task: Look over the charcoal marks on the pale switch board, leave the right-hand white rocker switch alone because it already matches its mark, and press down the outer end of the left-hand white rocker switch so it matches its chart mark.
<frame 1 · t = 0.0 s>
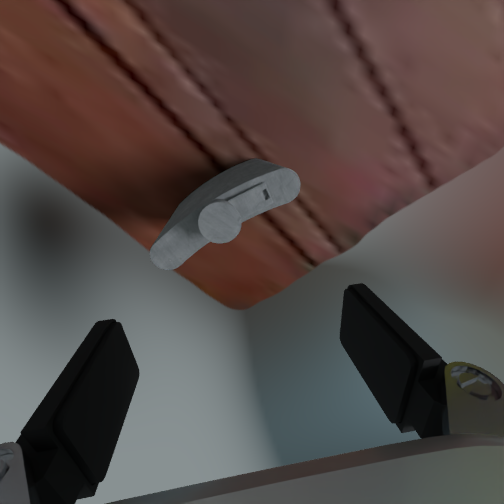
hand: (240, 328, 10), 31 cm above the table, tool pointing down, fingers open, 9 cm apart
hip flask: (219, 187, 38), on the table
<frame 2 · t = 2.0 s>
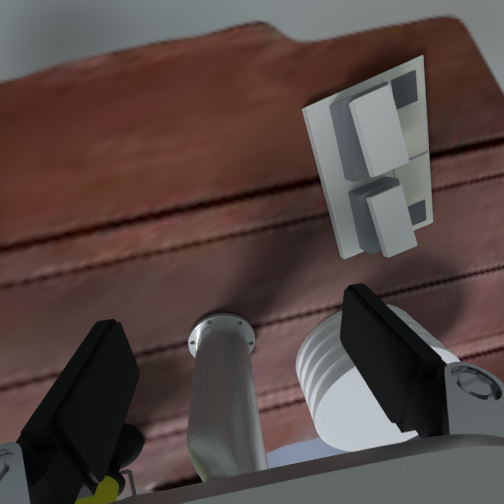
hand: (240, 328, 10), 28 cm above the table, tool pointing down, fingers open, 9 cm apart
plate stack: (356, 354, 53), on the table
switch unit: (371, 171, 37), on the table
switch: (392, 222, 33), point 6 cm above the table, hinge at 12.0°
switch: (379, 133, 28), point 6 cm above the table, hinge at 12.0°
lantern: (108, 441, 54), on the table
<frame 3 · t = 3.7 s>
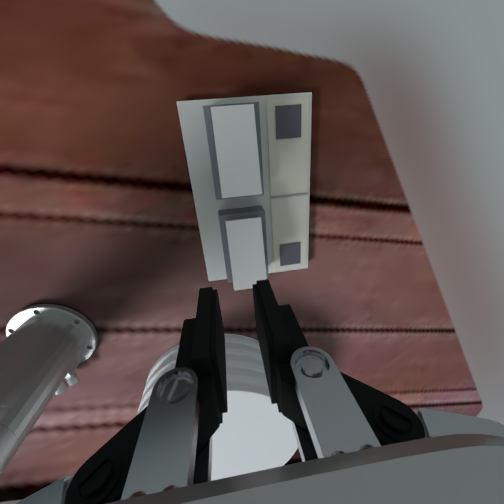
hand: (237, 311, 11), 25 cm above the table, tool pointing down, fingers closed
plate stack: (218, 384, 50), on the table
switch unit: (252, 196, 34), on the table
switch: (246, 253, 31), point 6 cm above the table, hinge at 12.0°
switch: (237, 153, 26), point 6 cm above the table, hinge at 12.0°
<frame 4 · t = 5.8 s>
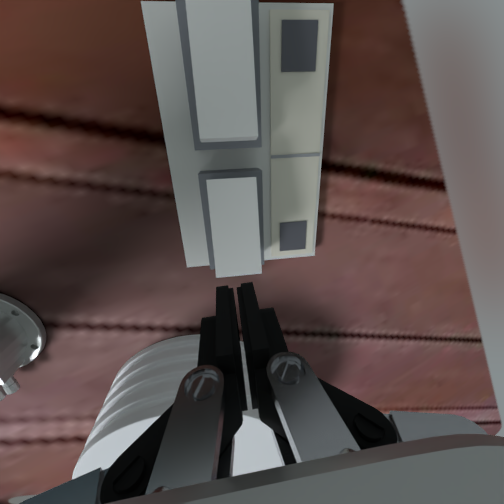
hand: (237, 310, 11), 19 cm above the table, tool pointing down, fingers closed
plate stack: (199, 395, 41), on the table
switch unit: (246, 157, 26), on the table
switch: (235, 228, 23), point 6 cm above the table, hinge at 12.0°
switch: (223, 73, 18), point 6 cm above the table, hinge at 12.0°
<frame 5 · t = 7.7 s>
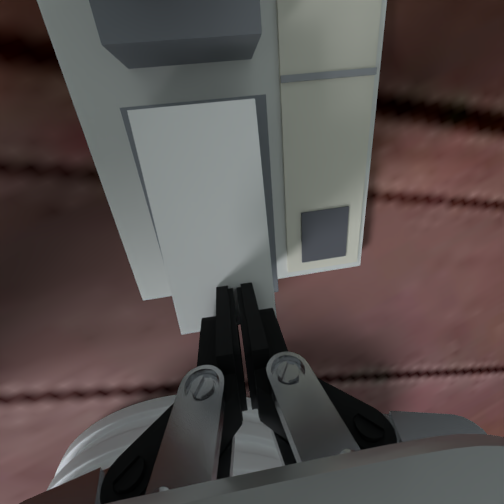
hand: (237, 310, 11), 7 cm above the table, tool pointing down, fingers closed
plate stack: (192, 468, 29), on the table
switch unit: (232, 90, 14), on the table
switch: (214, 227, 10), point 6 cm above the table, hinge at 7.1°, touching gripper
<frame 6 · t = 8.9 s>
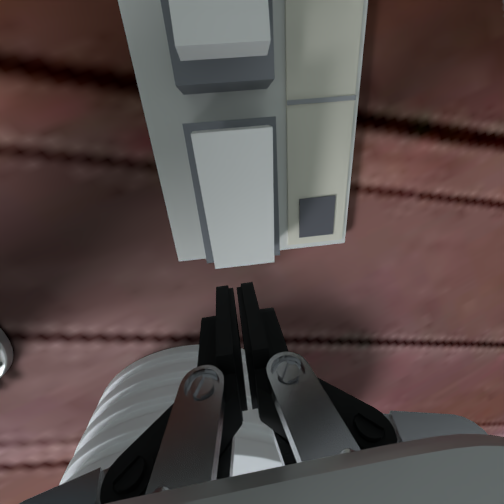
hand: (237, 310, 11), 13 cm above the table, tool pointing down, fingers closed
plate stack: (204, 413, 35), on the table
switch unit: (252, 108, 19), on the table
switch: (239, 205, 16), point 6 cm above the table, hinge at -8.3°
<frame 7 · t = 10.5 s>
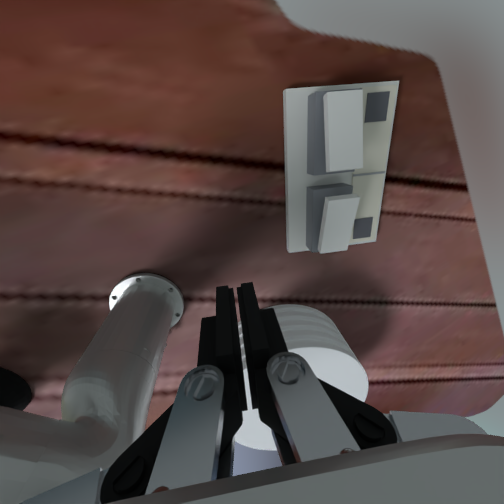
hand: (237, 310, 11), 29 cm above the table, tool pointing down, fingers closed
plate stack: (280, 354, 54), on the table
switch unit: (333, 175, 38), on the table
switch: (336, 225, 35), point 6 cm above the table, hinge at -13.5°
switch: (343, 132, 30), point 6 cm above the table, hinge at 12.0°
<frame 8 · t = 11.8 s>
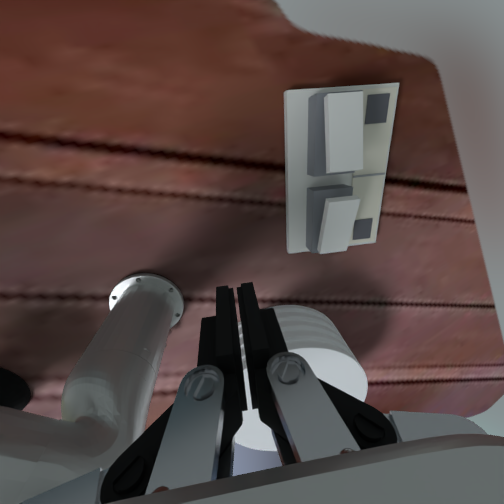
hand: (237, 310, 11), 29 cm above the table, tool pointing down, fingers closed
plate stack: (279, 354, 54), on the table
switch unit: (333, 176, 39), on the table
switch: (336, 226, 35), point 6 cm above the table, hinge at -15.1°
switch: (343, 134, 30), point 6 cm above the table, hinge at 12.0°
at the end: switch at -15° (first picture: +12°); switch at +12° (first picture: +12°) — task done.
